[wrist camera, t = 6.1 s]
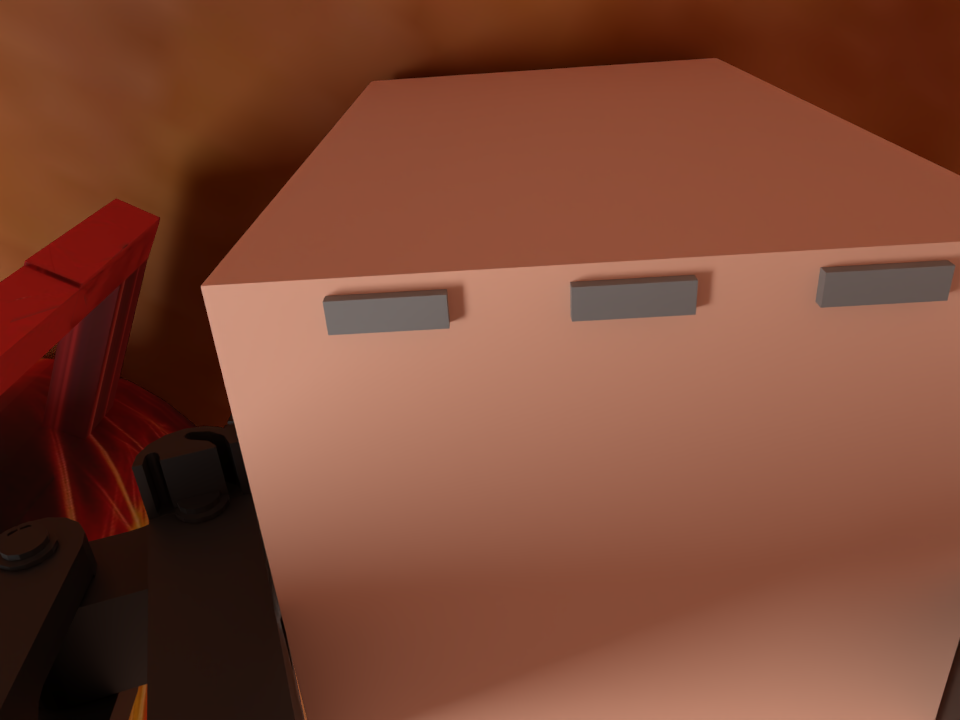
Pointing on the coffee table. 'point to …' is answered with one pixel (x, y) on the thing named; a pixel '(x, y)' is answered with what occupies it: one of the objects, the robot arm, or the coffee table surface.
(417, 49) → the coffee table surface
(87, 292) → the mug
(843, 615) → the stub
